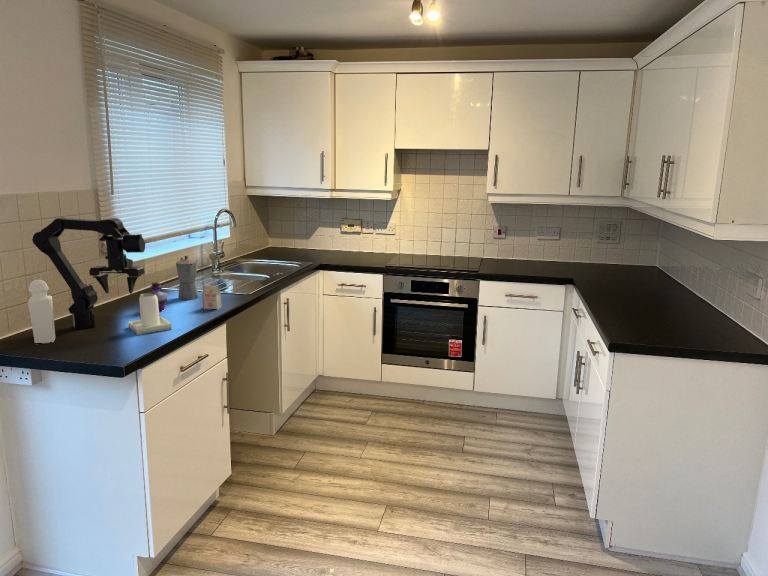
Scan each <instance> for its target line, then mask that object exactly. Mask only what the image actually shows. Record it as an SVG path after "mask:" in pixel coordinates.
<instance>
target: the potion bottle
mask: <svg viewBox="0 0 768 576" xmlns="http://www.w3.org/2000/svg"><path fill="white" fill-rule="evenodd" d="M162 288H163V285H161V282H159V281H157V282H152V283H151V285H150V290H152V293H156V296H157V298H158V308H159V311H160V312H163V311H162V310H164V309H165V310H166V303H167V302H168V295H169V293H166V292H162V291H161V289H162ZM165 310H164V311H165ZM160 312H159V313H160Z"/></svg>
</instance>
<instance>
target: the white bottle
mask: <svg viewBox="0 0 768 576" xmlns="http://www.w3.org/2000/svg"><path fill="white" fill-rule="evenodd" d="M49 289H50V288H49V286H48V284H47V282H46V281H45V280H43V279H34V280H32V281H31V282H30V284H29V287H28V292H29V293H30V295H31V297H30V298H29V300H28V301H27V306H28V312H29V317H30V324H31V328H32V329H31V330H32V333H33V334H32V335H33V339H34V344H35V343H42V344H51V343H50V342H52V343H54V342H55V340H56V330H55V328H56V327H55V318H54V317H55V315H54V306H53V304H54V303H53V296H52V295H48V291H49Z"/></svg>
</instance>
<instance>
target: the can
mask: <svg viewBox="0 0 768 576" xmlns="http://www.w3.org/2000/svg"><path fill="white" fill-rule="evenodd" d="M138 302H139V312H140V313H139V314H140V320H141V325H142V326H143V327H151V326H157V325H159V324H160V321H159V317H160V312H159V308H158V298H157V296H156V293H153V292H145V293H140V294H139V299H138Z"/></svg>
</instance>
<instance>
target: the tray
mask: <svg viewBox="0 0 768 576" xmlns="http://www.w3.org/2000/svg"><path fill="white" fill-rule="evenodd" d="M159 321H160V324H159V325H157V326H151V327H143V326H142V325H141V319H137V320H131V321H130V320H129V321H128V328H129V329H130V330H131V331H132V332H133V333H134V334H135V333H136V334H137V335H136V334H135V335H136V336H139V335H138V334H140V335H146V334H151V333H150V332H153V333H157V332H156V331H159V332H163V331H162V330H165V331H170V330H169V329H171V330H172V328H173V327H172V323H171V322H170V321H168V319H166V318H164V317H163V316H159ZM145 333H146V334H145Z"/></svg>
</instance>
